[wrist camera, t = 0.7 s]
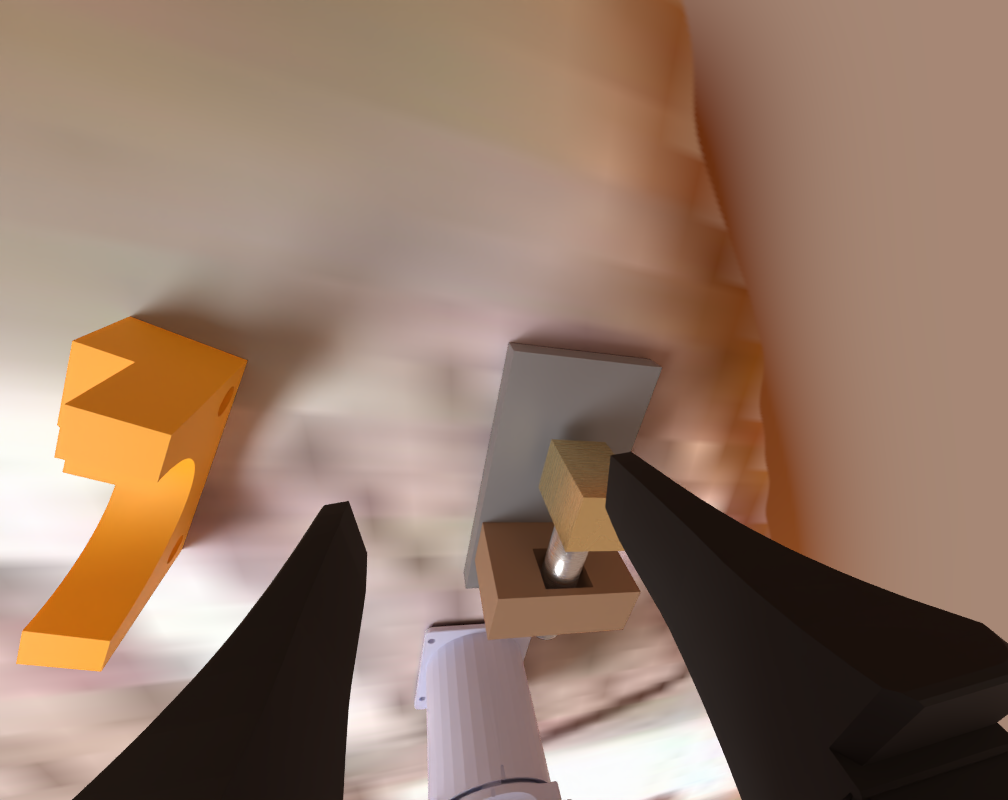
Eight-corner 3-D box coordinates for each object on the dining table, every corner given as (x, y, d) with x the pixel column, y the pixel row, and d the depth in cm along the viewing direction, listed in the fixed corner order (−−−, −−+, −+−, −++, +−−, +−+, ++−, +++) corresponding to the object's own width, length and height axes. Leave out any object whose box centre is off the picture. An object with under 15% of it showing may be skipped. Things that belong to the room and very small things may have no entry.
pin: (555, 588, 25) (580, 659, 21) (510, 590, 24) (527, 664, 21) (605, 442, 21) (648, 498, 17) (551, 439, 20) (583, 497, 16)
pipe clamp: (132, 315, 16) (-20, 379, 10) (249, 359, 18) (171, 435, 12) (83, 526, 20) (-49, 658, 14) (183, 546, 22) (101, 671, 16)
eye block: (575, 569, 28) (612, 657, 23) (463, 572, 26) (475, 670, 21) (650, 359, 22) (728, 413, 16) (508, 342, 20) (544, 398, 14)
